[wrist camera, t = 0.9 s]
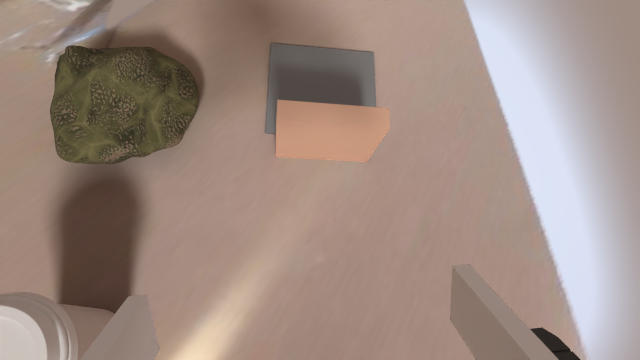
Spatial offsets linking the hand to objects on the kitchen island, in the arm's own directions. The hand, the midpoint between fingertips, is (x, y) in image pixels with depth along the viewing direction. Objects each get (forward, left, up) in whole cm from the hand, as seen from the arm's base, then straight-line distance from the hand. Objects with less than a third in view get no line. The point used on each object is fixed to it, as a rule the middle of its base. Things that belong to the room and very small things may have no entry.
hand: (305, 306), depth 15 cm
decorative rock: (-28, -6, -27) cm, 39 cm away
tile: (-14, +13, -26) cm, 33 cm away
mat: (-22, +17, -26) cm, 38 cm away
